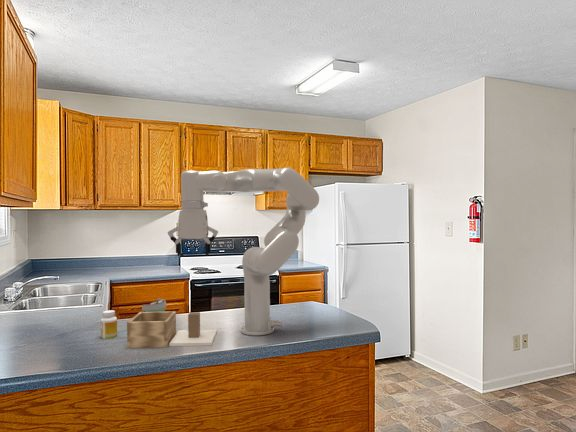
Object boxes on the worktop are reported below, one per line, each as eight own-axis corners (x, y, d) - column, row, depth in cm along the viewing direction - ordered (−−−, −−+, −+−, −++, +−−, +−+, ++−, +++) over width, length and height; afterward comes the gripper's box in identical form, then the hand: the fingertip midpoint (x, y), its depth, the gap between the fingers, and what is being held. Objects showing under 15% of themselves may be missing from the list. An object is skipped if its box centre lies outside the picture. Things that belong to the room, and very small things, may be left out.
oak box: (176, 335, 157) (175, 311, 157) (167, 348, 143) (166, 321, 143) (139, 336, 157) (139, 312, 157) (127, 349, 143) (126, 322, 143)
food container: (157, 332, 162) (156, 305, 162) (142, 331, 164) (141, 305, 163) (172, 323, 174) (172, 298, 174) (158, 322, 176) (158, 298, 175)
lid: (217, 332, 160) (216, 308, 159) (211, 345, 145) (211, 318, 144) (178, 332, 159) (178, 308, 159) (169, 346, 144) (168, 319, 144)
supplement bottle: (120, 336, 157) (120, 310, 157) (110, 341, 152) (109, 313, 152) (108, 335, 159) (108, 309, 158) (97, 339, 154) (97, 312, 153)
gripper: (218, 206, 155) (219, 253, 155) (169, 206, 154) (170, 254, 154) (216, 206, 147) (217, 256, 148) (164, 206, 146) (165, 256, 147)
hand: (193, 255), depth 151 cm, fingers open, 9 cm apart
